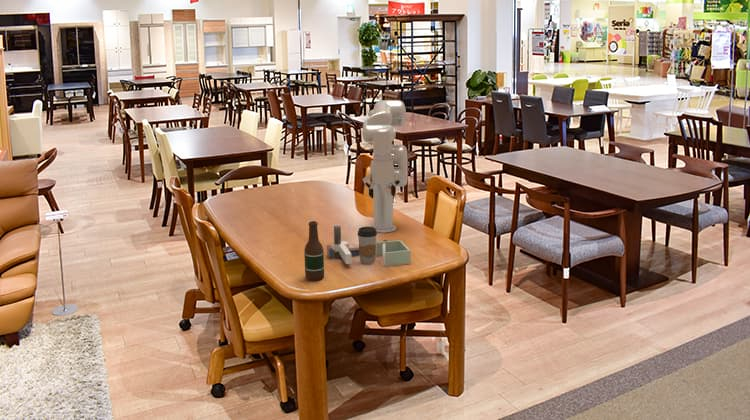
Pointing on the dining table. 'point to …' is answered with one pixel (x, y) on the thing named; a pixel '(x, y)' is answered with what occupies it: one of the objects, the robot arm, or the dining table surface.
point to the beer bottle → (314, 255)
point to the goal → (393, 252)
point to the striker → (341, 246)
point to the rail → (333, 254)
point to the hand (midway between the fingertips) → (382, 196)
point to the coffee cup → (367, 244)
